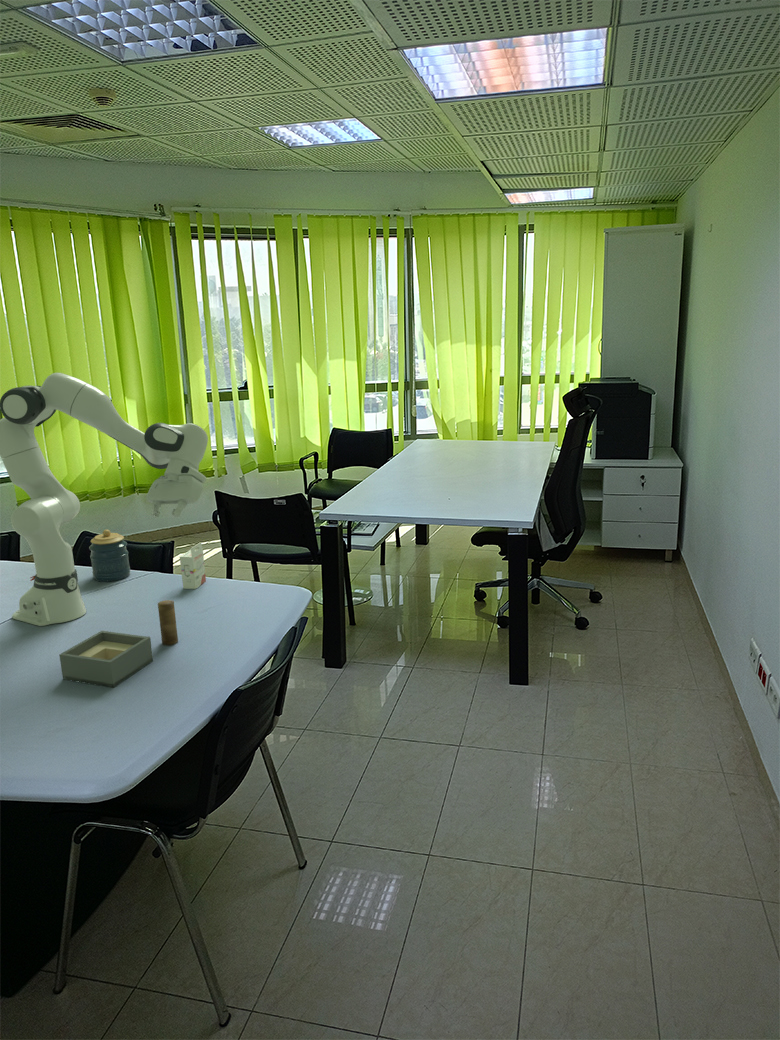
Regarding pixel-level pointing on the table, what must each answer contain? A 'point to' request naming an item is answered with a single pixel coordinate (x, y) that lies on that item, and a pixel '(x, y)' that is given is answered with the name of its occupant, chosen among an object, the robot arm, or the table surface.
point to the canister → (109, 557)
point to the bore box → (106, 658)
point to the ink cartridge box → (193, 568)
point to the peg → (167, 622)
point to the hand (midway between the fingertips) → (164, 516)
